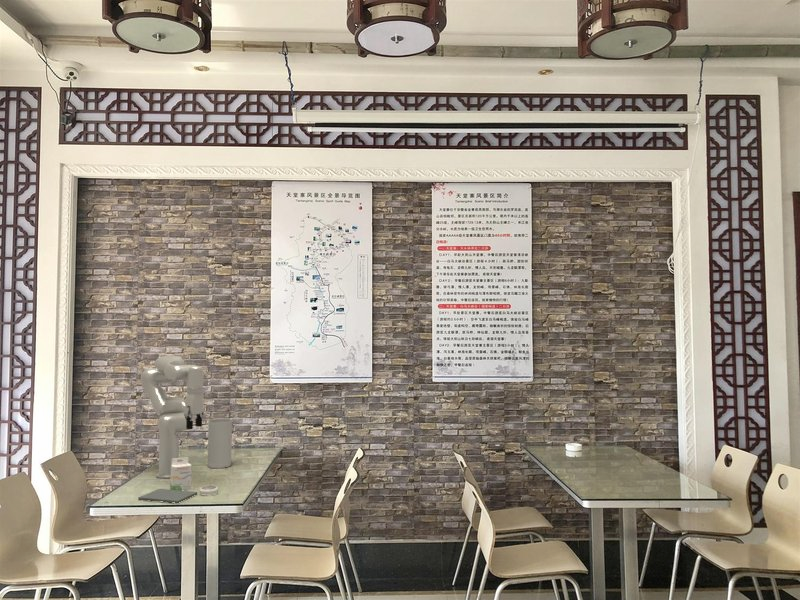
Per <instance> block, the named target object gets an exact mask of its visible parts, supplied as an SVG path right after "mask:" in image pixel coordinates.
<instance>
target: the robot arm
mask: <svg viewBox="0 0 800 600" xmlns="http://www.w3.org/2000/svg"><path fill="white" fill-rule="evenodd" d="M204 370H205V369H204V367H203V366H201V365H197V364H185V361H184V359H183V358H182V357H181V356H180V355H166V356H165V355H163V356H160V357H158V358H156V360H155V361H154V368H148V369H145V370H143V371H142V372H141V375H140V383H141V384H140V385H141V387H142V389H143V391H144V392H145V394H146V395H147V396H148V398H149V401H150V403H151V405H152V407H153V411H154V412H155V414H156V415H157V416H159V418H158V421H157V428H158V435H159V439H158V440H159V441H158V442H159V444H158V450H159V451H158V472H156V473H155V475H154V476H155V477H156V478H159V479H171V464H172V459H174V458H180V457H179V453H180V452H179V450H180V449H179V448H180V447H179V446H180V441H179V440H180V439H179V438H178V436H177V435H176V434H175V433H177V432H183V431H184V432H185V431H189V430H193V428H194V427H193V426H194V420H193V418H194V416H195V417H196V418H195V427H201V428H202V426H203V417H204V412H205V408H204ZM175 381H179V382H180V381H186V396H185V399H184V398H183V397H180V396H174V397H170V396H168V394H167V392H166V391H165V390H164V388H162V386H159V385H160V384H161V385H163V384H164V385H165V384H171V383H174V382H175ZM177 462H179V460H178V461H177Z"/></svg>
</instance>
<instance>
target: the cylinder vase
mask: <svg viewBox="0 0 800 600" xmlns="http://www.w3.org/2000/svg"><path fill="white" fill-rule="evenodd" d="M207 429H208V432H207V433H208V434H207V435H208V436H207V467H208V468H209V467H210V469H225V467H226V468H229V467H231V465H232V443H233V442H232V440H233V439H232V436H233V431H232V430H233V419H229V418H216V419H210V420H208V428H207Z"/></svg>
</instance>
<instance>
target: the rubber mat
mask: <svg viewBox="0 0 800 600" xmlns="http://www.w3.org/2000/svg"><path fill="white" fill-rule="evenodd" d="M194 495H196V496H198V491H193V490H192V491H190V490H185V491H180V490H170V489H167V488H158V489H156V490H153V491H150V492H148V493H145V494H143V495H141V496H139V497H138V501H141V500H150V501H149V502H152V501H163V502H175V503H179V502H181V501H183V500H185V499H187V498H189V499H191V498H193V497H195V496H194ZM192 496H193V497H192ZM190 497H191V498H190ZM187 500H188V499H187ZM185 501H186V500H185ZM163 502H162V503H163ZM183 502H184V501H183ZM181 503H182V502H181ZM179 504H180V503H179Z"/></svg>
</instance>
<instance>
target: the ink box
mask: <svg viewBox="0 0 800 600" xmlns="http://www.w3.org/2000/svg"><path fill="white" fill-rule="evenodd" d="M189 460H190V459H189V456H185V457H184V456H183V457H179V458H174V459H172V464H171V478H169V479H170V483H169V485H170V486H169V487H170V488H169V490H180V491H182V490H185V491H189V490H188V489H191V490H192V470H193V469H192V468H193V465H192V464H191V463H190V462H189ZM177 461H178V462H177Z"/></svg>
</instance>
